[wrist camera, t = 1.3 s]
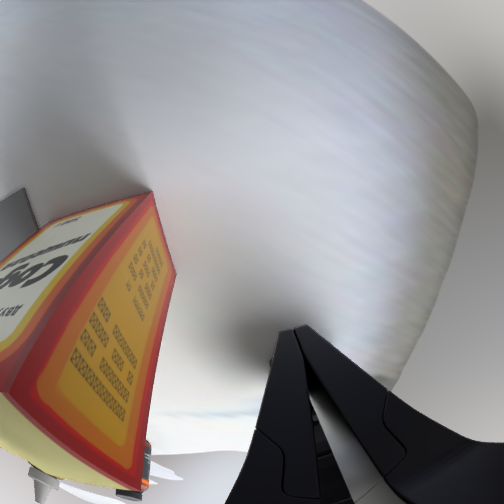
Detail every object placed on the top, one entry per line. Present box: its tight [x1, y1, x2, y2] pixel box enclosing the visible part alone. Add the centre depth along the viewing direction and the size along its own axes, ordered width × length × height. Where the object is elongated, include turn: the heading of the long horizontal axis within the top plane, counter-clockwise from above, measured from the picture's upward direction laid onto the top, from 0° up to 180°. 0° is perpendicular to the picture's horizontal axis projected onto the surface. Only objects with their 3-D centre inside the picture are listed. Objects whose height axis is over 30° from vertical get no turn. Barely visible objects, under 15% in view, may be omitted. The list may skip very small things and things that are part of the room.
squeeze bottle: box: [28, 461, 64, 504], centre depth 20 cm, size 8×8×18 cm
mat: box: [0, 188, 39, 262], centre depth 18 cm, size 14×16×1 cm
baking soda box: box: [0, 191, 176, 491], centre depth 11 cm, size 10×6×16 cm
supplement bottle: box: [116, 441, 151, 501], centre depth 28 cm, size 6×6×11 cm
